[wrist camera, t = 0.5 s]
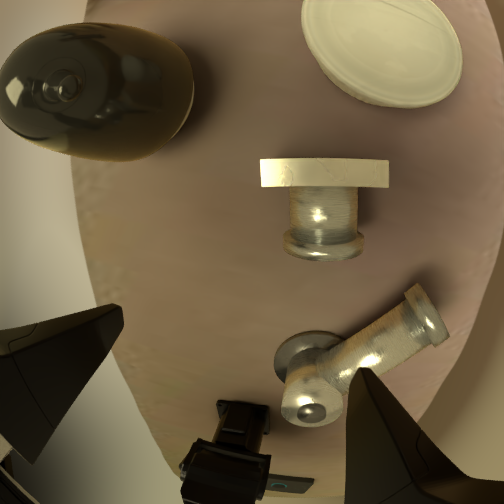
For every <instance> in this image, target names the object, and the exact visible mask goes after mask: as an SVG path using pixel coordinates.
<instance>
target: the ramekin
mask: <svg viewBox="0 0 504 504" xmlns="http://www.w3.org/2000/svg"><path fill="white" fill-rule="evenodd" d="M301 24H302V30H303V34H304V37H305V40H306V42H307V45H308V47H309V49H310V51H311V52H312V54H313V56H314V57H315V58H316V60H317V61H318V63H319V66H320V67H321V69H322V70H323V72H324V73H325V74H326V75H327V76H328V78H329V79H330V80H331V81H332V82H333V83H334V84H335V85H336V86H338V87H339V88H340V89H341V90H343V91H344V92H346V93H348V94H349V95H350V96H352V97H355V98H357V99H358V100H361V101H364V102H365V103H369V104H372V105H379V106H382V107H384V106H387V107H396V108H421V107H425V106H429V105H432V104H434V103H437V102H439V101H441V100H443V99H444V98H446V97H447V96H448V95H449V94H450V93H451V92H452V91H453V90H454V89H455V87H456V86H457V84H458V82H459V80H460V77H461V73H462V67H463V56H462V49H461V45H460V42H459V39H458V37H457V34H456V32H455V30H454V28H453V27H452V25H451V23H450V22H449V20H448V19H447V17H446V16H445V15H444V13H443V12H442V11H441V10H440V9H439V8H438V7H437V6H436V5H435V4H434V3H433V2H432V1H431V0H304V2H303V5H302V12H301Z"/></svg>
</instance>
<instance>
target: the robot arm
mask: <svg viewBox="0 0 504 504" xmlns="http://www.w3.org/2000/svg"><path fill="white" fill-rule="evenodd" d="M123 327H124V319H123V311H122V307H121V306H119V305H116V304H113V303H111V304H108V305H104V306H100V307H96V308H93V309H89V310H85V311H81V312H78V313H74V314H70V315H66V316H62V317H58V318H54V319H50V320H46V321H43V322H39V323H34V324H31V325H26V326H22V327H16V328H11V329H5V330H0V504H40V503H39V502H37V501H36V500H35V499H34V498H33V497H32V496H30V494H29V493H27V492H26V491H25V490H24V489H23V488H22V487H21V486H20V485H19V484H18V483H17V482H16V481H15V480H14V476H13V470H12V462H11V456H10V455H9V452H10V451H11V450H12V449H13V448H14V449H15V450H16V451H17V452H18V453H19V454H20V455H21V456H22V457H23V458H24V459H25V460H26V461H27V462H28V463H29V464H30V465H31V466H32V465H33V464H34V463H35V461H36V460H37V458H38V456H39V455H40V453H41V452H42V450H43V448H44V447H45V445H46V444H47V442H48V440H49V439H50V437H51V436H52V434H53V432H54V431H55V429H56V428H57V426H58V425H59V423H60V422H61V420H62V418H63V417H64V416H65V414H66V413H67V411H68V409H69V408H70V407H71V405H72V404H73V402H74V401H75V399H76V398H77V396H78V395H79V394H80V392H81V391H82V390H83V388H84V387H85V385H86V384H87V382H88V381H89V379H90V378H91V377H92V375H93V374H94V373H95V371H96V370H97V369H98V367H99V366H100V365H101V363H102V362H103V360H104V359H105V358H106V356H107V355H108V353H109V351H110V350H111V348H112V346H113V344H114V343H115V341H116V339H117V338H118V336H119V334H120V333H121V331H122V329H123ZM216 406H217V410H218V414H219V417H220V421H219V424H218V427H217V429H216V432H215V435H214V437H213V440H212V442H209V441H205V440H203V439H201V438H198V439H197V441H196V442H194V443H193V444H192V447H191V449H190V451H189V453H188V454H187V456H186V457H185V458H184V459H183V460H182V462H181V463H180V464H179V469H180V470H181V477H180V479H181V481H183V484H182V487H181V490H180V491H181V495H182V499H183V502H184V504H255V501H256V500H259V501H261V500H262V497H263V495H264V492H265V489H266V485H267V480H268V474H269V468H270V461H271V455H268V454H267V455H264V454H259V450H260V446H261V442H262V437H263V435H268V434H269V408H268V407H266V406H259V405H249V404H241V403H233V402H226V401H217V403H216ZM344 504H504V481H495V480H484V479H476V478H472V477H469V476H467V475H466V474H464V473H463V472H462V471H461V470H460V469H459V468H458V467H457V466H456V465H455V464H453V462H451V460H450V459H449V458H447V457H446V456H445V455H444V454H443V453H442V452H441V450H440V449H439V448H438V447H437V446H436V445H435V444H434V443H433V442H432V441H431V440H430V438H428V436H427V435H426V434H425V432H424V431H423V430H421V428H420V427H419V425H418V424H417V423H416V422H415V421H414V419H413V418H412V417H411V416H410V415H409V413H408V412H407V411H406V410H405V409H404V407H403V406H402V405H401V404H400V403H399V401H398V400H397V399H396V398H395V397H394V395H393V394H392V393H391V392H390V391H389V390H388V388H387V387H386V386H385V385H384V384H383V382H382V381H381V380H380V379H379V378H378V377H377V375H376V374H375V373H374V372H373V371H372V370H371V369H370V368H368V367H359V368H358V369H357V371H356V373H355V375H354V376H353V378H352V380H351V382H350V385H349V393H348V406H347V417H346V482H345V502H344Z"/></svg>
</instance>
